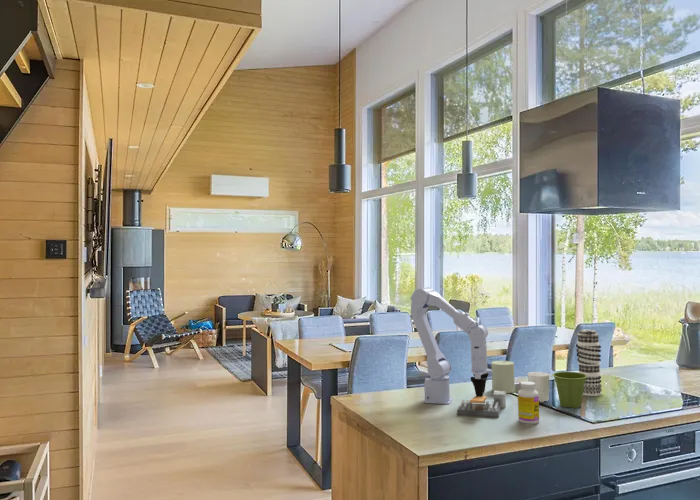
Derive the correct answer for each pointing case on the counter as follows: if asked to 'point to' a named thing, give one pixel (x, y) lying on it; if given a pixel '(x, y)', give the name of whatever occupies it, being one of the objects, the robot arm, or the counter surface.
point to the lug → (500, 398)
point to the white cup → (540, 384)
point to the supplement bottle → (528, 403)
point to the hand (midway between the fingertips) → (480, 394)
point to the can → (503, 376)
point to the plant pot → (570, 388)
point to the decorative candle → (589, 361)
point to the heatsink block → (479, 409)
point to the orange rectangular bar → (478, 399)
